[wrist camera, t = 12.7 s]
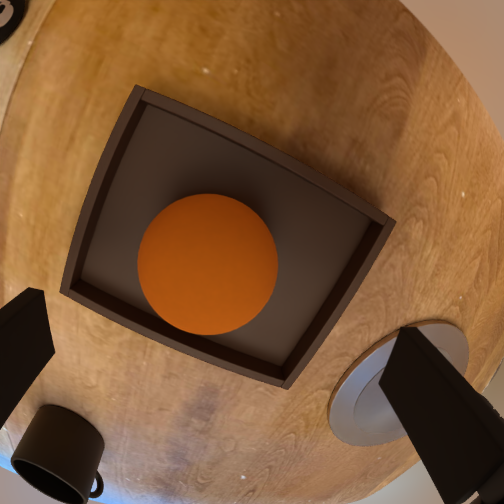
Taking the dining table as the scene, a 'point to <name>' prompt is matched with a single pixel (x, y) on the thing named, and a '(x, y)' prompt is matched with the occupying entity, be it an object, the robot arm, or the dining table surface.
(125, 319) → the tray
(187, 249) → the orange
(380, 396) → the plate
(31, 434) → the mug
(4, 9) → the beverage can
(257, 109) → the dining table surface
